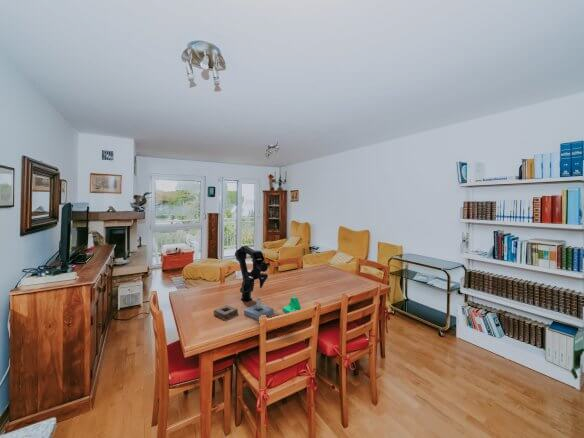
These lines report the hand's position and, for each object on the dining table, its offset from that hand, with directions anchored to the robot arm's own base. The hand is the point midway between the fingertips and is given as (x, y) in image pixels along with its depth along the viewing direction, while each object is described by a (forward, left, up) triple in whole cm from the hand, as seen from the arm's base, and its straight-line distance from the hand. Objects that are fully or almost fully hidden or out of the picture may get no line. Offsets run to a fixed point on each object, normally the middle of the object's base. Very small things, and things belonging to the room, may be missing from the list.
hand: (256, 289), depth 180 cm
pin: (+8, +10, -12) cm, 18 cm away
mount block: (+22, -7, -12) cm, 26 cm away
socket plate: (+8, +10, -12) cm, 18 cm away
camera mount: (-8, +26, -12) cm, 30 cm away
